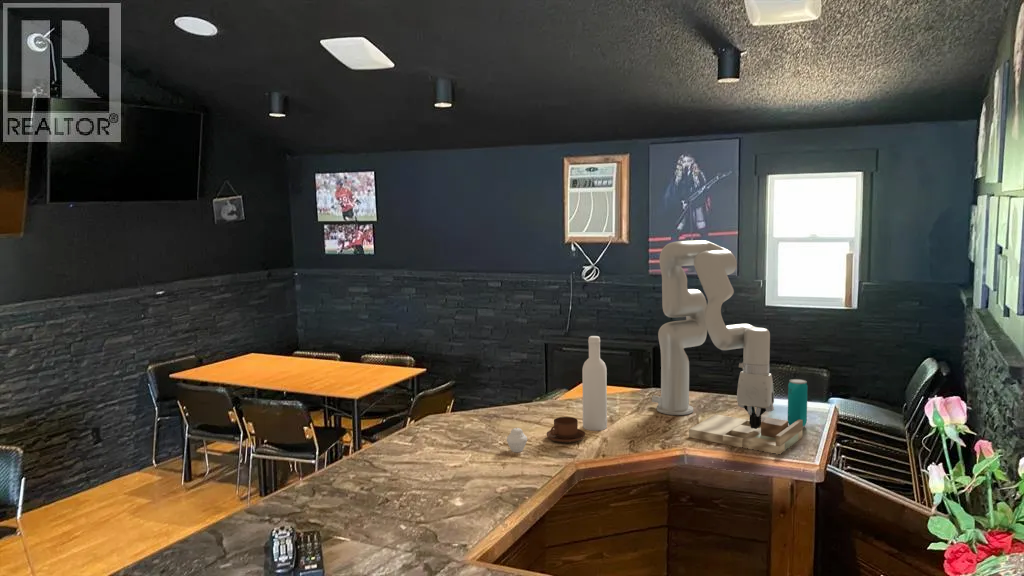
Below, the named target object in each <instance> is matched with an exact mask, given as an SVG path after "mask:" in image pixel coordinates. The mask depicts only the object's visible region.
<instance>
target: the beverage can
mask: <svg viewBox="0 0 1024 576" xmlns="http://www.w3.org/2000/svg"><path fill="white" fill-rule="evenodd" d="M807 383H808V381H807V380H806V379H800V378H793V379H789V382H788V385H787V389H788V390H787V421H788V427H789V426H790V425H791V424H793V423H794V422H796V421H797V420H798V419H800V420H803V429H804V428H805V427H806V424H807V421H808V420H807V419H808V390H809V389H808V387H809V386H808V384H807Z"/></svg>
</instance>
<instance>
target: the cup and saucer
mask: <svg viewBox="0 0 1024 576" xmlns="http://www.w3.org/2000/svg"><path fill="white" fill-rule="evenodd" d="M578 421H579V420H578V419H577V418H575V417H571V416H560V417H557V418H554V420H553V426H552V427H551V428H550V430H547V432H546V436H547V438H548V439H549V440H552V441H554V442H557V443H564V444H565V443H568V444H569V443H574V442H575V443H576V442H579V441H581V440H582V439H584V438H585V437H586V432H585V431H583V430H582V429H579V428H578Z"/></svg>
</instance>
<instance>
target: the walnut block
mask: <svg viewBox="0 0 1024 576" xmlns="http://www.w3.org/2000/svg"><path fill="white" fill-rule="evenodd" d="M787 427H789V423H788V420H785V419H779V418H778V419H777V418H772V417H767V418H765V419H764V420H761V435H762V436H768V437H773V438H776V435H777V434H779V433H780V432H782V431H783V430H784V429H786V428H787Z"/></svg>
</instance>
